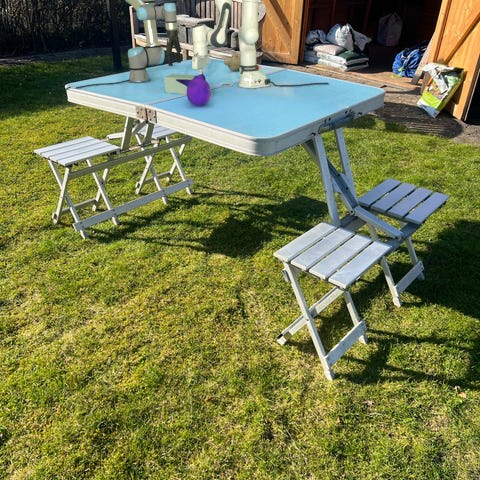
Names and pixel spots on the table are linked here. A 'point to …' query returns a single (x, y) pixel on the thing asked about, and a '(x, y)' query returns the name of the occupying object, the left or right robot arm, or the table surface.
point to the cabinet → (176, 83)
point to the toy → (197, 90)
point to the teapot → (233, 62)
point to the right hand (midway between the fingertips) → (201, 74)
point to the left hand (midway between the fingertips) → (174, 64)
